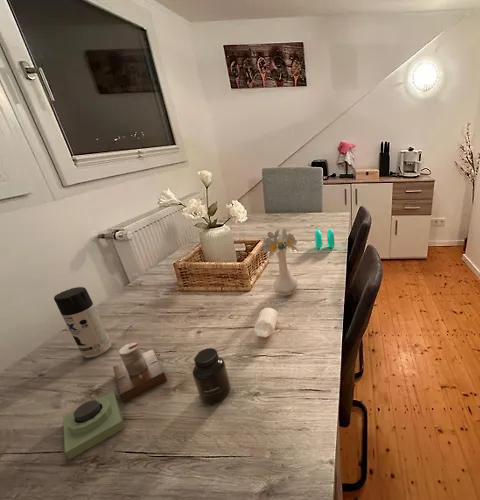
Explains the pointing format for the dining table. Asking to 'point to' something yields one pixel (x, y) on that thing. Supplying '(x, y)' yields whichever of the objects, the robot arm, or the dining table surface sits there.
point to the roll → (266, 322)
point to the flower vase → (281, 260)
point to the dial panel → (139, 378)
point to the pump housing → (92, 426)
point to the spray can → (83, 321)
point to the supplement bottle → (210, 376)
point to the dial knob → (133, 358)
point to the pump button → (87, 411)
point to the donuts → (329, 238)
